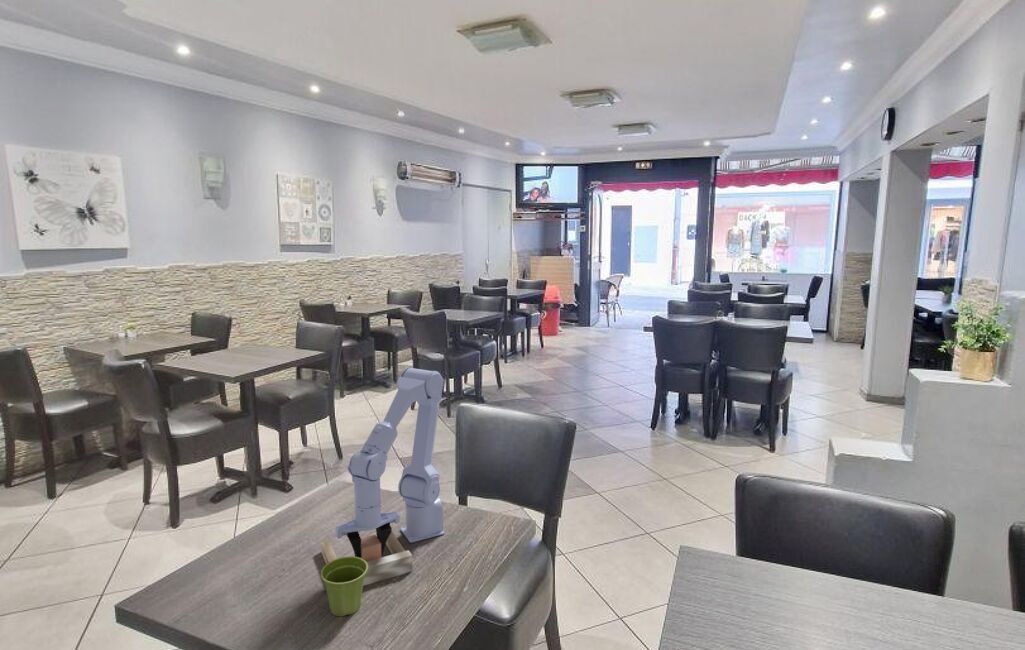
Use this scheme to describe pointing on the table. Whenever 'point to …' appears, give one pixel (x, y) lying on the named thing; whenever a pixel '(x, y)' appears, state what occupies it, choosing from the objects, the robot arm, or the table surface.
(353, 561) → the plant pot
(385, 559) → the wooden u-shaped frame
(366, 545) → the block
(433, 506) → the robot arm
